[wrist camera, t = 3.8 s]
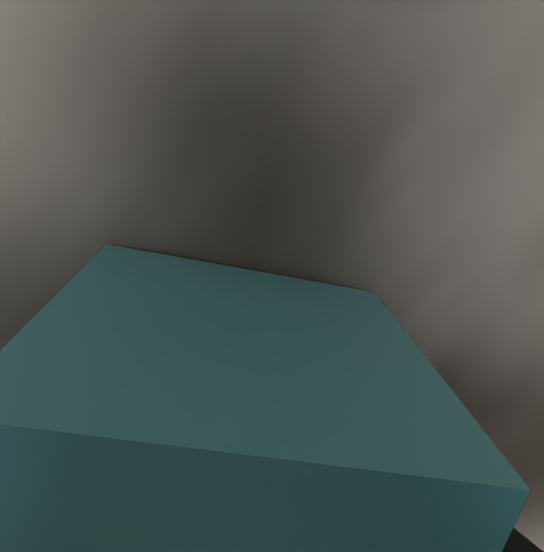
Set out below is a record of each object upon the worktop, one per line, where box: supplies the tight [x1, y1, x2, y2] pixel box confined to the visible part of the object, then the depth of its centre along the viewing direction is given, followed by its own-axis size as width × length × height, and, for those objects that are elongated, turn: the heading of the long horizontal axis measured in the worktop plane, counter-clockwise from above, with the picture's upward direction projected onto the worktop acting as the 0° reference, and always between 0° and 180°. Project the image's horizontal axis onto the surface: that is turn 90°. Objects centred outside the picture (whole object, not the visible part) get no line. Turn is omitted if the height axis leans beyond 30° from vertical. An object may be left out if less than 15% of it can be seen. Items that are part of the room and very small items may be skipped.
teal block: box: [0, 244, 531, 552], centre depth 7 cm, size 5×5×5 cm
